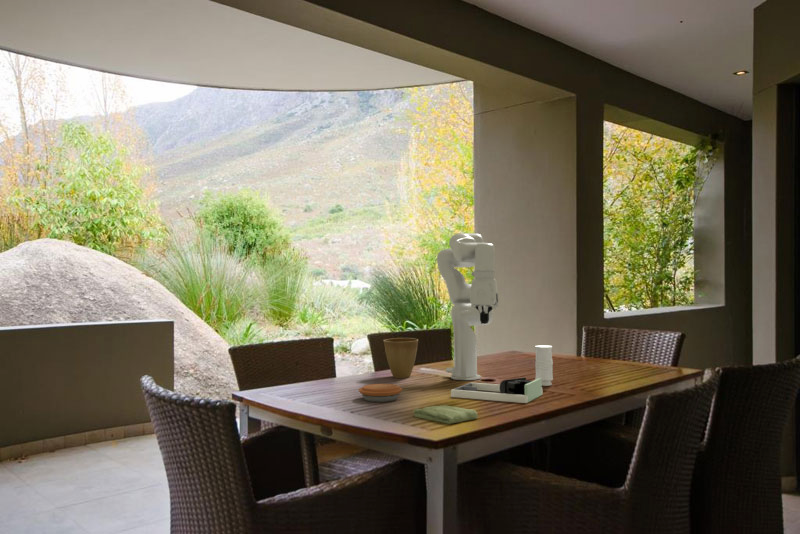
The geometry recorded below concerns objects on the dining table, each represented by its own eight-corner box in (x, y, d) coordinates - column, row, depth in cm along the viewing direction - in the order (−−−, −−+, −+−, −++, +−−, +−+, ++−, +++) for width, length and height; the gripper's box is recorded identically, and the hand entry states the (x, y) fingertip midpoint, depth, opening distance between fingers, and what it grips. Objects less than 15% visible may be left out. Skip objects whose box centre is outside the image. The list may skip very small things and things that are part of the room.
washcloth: (441, 411, 218) (440, 401, 218) (480, 420, 204) (480, 409, 204) (410, 417, 210) (409, 406, 210) (448, 426, 196) (448, 415, 196)
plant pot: (382, 374, 296) (382, 338, 296) (416, 373, 298) (415, 337, 298) (385, 379, 281) (385, 341, 281) (420, 378, 283) (420, 340, 283)
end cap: (520, 395, 243) (519, 376, 243) (534, 398, 237) (533, 378, 237) (499, 398, 238) (498, 379, 238) (513, 401, 232) (512, 381, 232)
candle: (551, 382, 268) (551, 345, 269) (554, 385, 262) (553, 347, 262) (534, 382, 269) (533, 345, 269) (536, 385, 262) (535, 347, 262)
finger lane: (451, 396, 241) (450, 380, 241) (470, 389, 257) (470, 373, 257) (526, 403, 227) (526, 385, 227) (542, 394, 243) (542, 377, 243)
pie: (393, 404, 229) (393, 389, 229) (351, 402, 234) (351, 387, 234) (408, 396, 243) (408, 382, 243) (369, 394, 249) (368, 380, 249)
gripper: (462, 275, 258) (462, 323, 259) (499, 276, 250) (499, 325, 251) (470, 274, 264) (470, 321, 265) (506, 275, 257) (506, 323, 258)
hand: (484, 323), depth 258 cm, fingers closed
